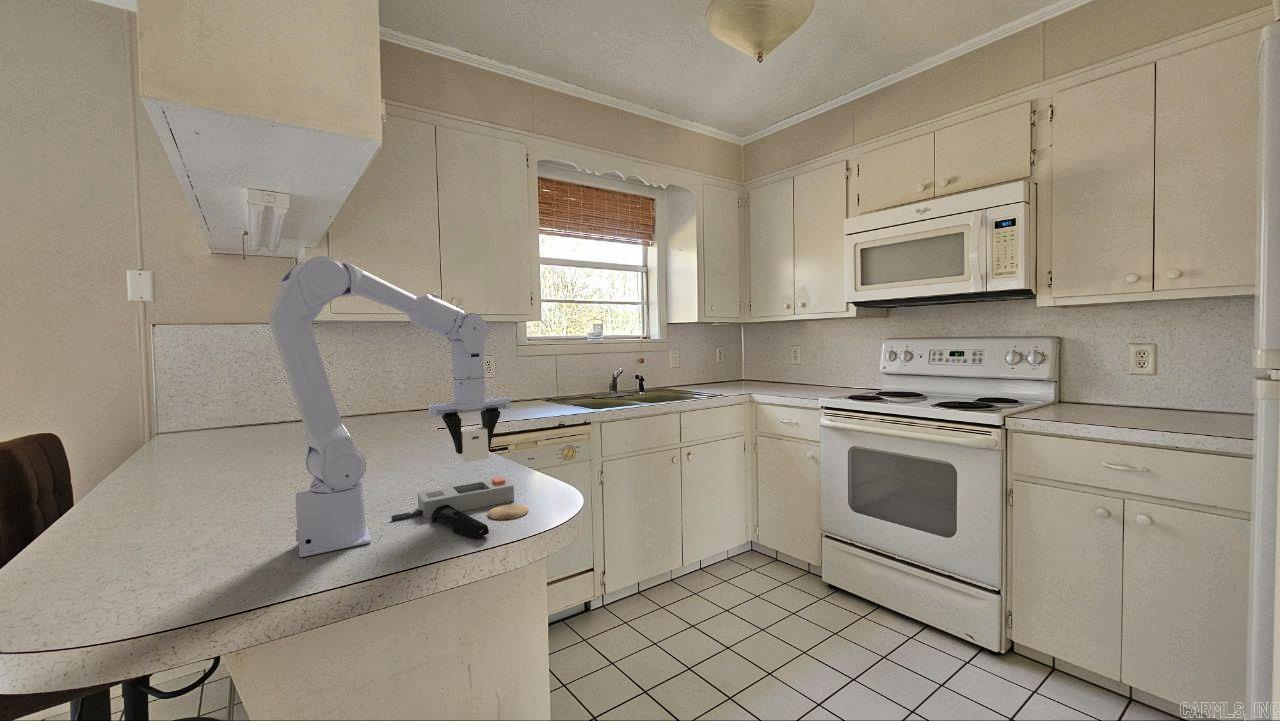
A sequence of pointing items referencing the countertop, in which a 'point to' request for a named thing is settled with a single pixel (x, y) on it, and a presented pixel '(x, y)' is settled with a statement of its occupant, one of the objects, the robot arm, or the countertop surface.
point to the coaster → (508, 511)
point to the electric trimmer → (459, 521)
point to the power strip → (462, 497)
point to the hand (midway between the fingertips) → (473, 450)
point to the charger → (474, 444)
